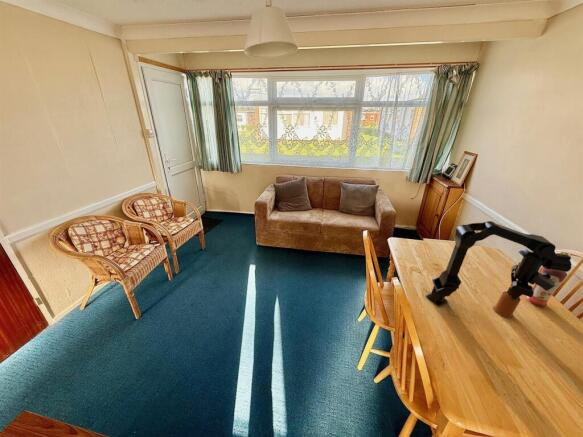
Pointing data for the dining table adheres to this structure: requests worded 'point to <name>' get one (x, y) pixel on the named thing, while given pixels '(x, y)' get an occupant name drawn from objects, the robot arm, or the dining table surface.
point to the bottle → (506, 305)
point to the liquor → (542, 295)
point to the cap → (509, 291)
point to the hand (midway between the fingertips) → (513, 294)
